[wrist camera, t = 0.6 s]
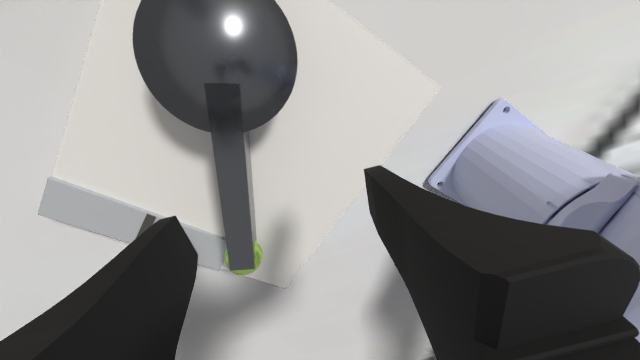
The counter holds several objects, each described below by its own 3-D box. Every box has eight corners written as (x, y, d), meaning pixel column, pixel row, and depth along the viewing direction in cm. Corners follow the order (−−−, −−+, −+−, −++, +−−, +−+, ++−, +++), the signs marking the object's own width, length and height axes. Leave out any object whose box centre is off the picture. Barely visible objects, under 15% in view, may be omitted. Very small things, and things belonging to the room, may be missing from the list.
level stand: (430, 82, 20) (444, 88, 19) (284, 275, 27) (285, 292, 26) (154, -131, 13) (138, -150, 12) (55, 199, 20) (36, 215, 19)
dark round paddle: (141, -34, 14) (110, -44, 11) (293, -23, 15) (298, -29, 12) (199, 255, 22) (190, 287, 20) (292, 250, 23) (295, 279, 21)
